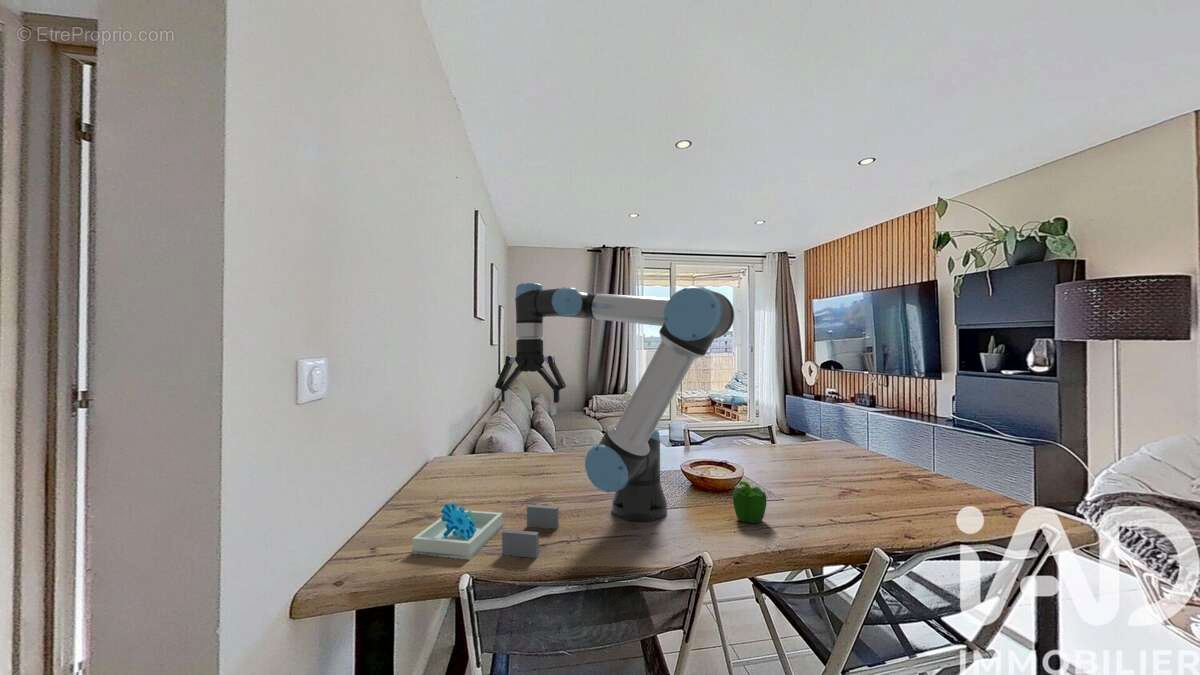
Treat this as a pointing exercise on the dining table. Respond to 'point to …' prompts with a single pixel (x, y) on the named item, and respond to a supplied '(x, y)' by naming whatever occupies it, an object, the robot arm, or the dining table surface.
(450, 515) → the gear
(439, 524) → the parts tray
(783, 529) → the dining table surface
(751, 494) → the bell pepper
